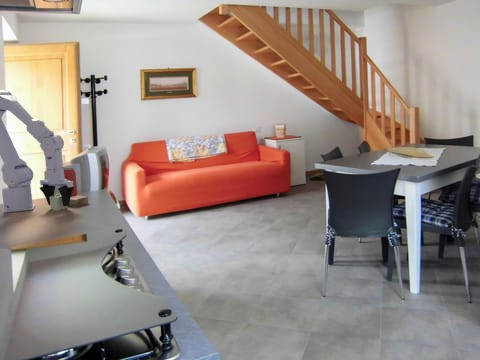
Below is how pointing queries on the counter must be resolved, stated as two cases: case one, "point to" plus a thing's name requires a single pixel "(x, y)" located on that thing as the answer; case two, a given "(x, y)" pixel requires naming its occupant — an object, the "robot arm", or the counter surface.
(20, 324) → the counter surface
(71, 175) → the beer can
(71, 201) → the walnut block
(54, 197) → the sage brick
